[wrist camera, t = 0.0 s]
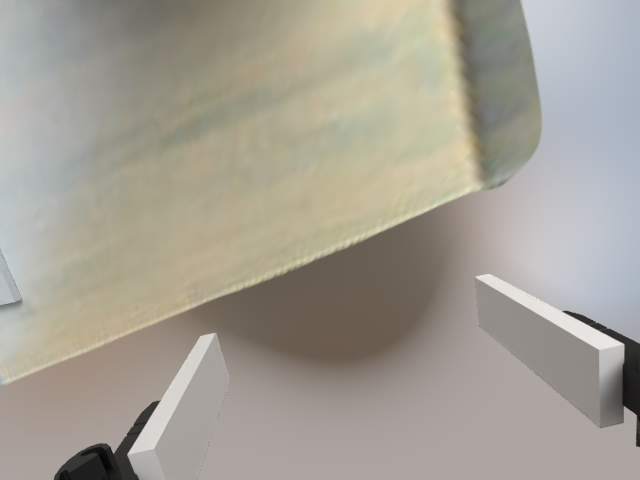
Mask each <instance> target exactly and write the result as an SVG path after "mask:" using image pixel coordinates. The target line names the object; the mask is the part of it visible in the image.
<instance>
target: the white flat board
mask: <svg viewBox="0 0 640 480" xmlns="http://www.w3.org/2000/svg"><path fill="white" fill-rule="evenodd" d="M21 299H22V298H21V296H20V294H19V292H18V289H17V287H16V285H15V283H14V280H13V278H12V276H11V273H10V271H9V269H8V267H7V264H6V262H5V260H4V258H3V255H2V253H1V251H0V305H3V304H8V303H13V302H16V301H19V300H21Z"/></svg>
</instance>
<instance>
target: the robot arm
mask: <svg viewBox="0 0 640 480" xmlns="http://www.w3.org/2000/svg"><path fill="white" fill-rule="evenodd" d="M475 286H476V296H477V306H478V317H479V326H480V327H481V328H482V329H483V330H484V331H485V332H487V333H488V334H489V335H490V336H491V337H493V338H494V339H495V340H496V341H497V342H498V343H500V344H501V345H502V346H503V347H504V348H506V349H507V350H508V351H509V352H510V353H511V354H513V355H514V356H515V357H516V358H517V359H519V360H520V361H521V362H522V363H523V364H524V365H526V366H527V367H528V368H529V369H530V370H532V371H533V372H534V373H535V374H536V375H537V376H539V377H540V378H541V379H542V380H543V381H545V382H546V383H547V384H548V385H549V386H550V387H552V388H553V389H554V390H555V391H556V392H558V393H559V394H560V395H561V396H562V397H564V398H565V399H566V400H567V401H568V402H569V403H571V404H572V405H573V406H574V407H575V408H577V409H578V410H579V411H580V412H581V413H582V414H584V415H585V416H586V417H587V418H588V419H590V420H591V421H592V422H593V423H594V424H595V425H597V426H598V427H599V428H603V427H608V426H612V425H616V424H621V423H624V422H623V421H624V406H625V407H626V408H628V409H629V410H631V411H632V412H634V413H635V414H636V415H637V434H636V435H637V436H636V446H637V447H640V344H639V343H637V342H635V341H633V340H631V339H629V338H627V337H625V336H623V335H621V334H619V333H617V332H615V331H613V330H611V329H607V327H605V326H603V325H601V324H599V323H596V322H595V321H593V320H591V319H589V318H587V317H585V316H583V315H580V314H576V313H572V312H569V311H560V310H558V309H556V308H554V307H552V306H550V305H548V304H546V303H544V302H543V301H541V300H539V299H537V298H535V297H533V296H531V295H529V294H527V293H525V292H523V291H521V290H520V289H518V288H516V287H513V286H512V285H510V284H508V283H506V282H504V281H502V280H500V279H499V278H497V277H495V276H493V275H491V274H486V275H482V276H477V277H475ZM229 384H230V377H229V374H228V371H227V368H226V364H225V361H224V358H223V354H222V351H221V348H220V344H219V341H218V338H217V334H216V333H212V334H208V335H203V336H200V338H199V340H198V341H197V343H196V344H195V346H194V348H193V349H192V351H191V353H190V354H189V356H188V357H187V359H186V361H185V362H184V364H183V365H182V367H181V369H180V371H179V372H178V374H177V375H176V377H175V378H174V380H173V382H172V383H171V385H170V387H169V388H168V390H167V391H166V393H165V395H164V396H163V398H162V400H160V401H156V402H153V403H151V404H150V406H148V407H147V408H146V409H145V410H144V411H143V412H142V413H141V414H140V416H139V417H138V419H137V420H136V422H135V423H134V426H133V427H132V428H131V429H130V431H129V432H128V434H127V436H126V437H125V438H124V440H123V441H122V443H121V444H120V445H119V447H118V448H117V450H116V452H115V453H114V454H113V452H112V450H111V447H110V446H109V445H108V444H101V443H100V444H96V445H93V446H90V447H88V448H86V449H84V450H82V451H81V452H79V453H78V454H76V455H75V456H73V457H72V458H70V459H69V460H68V461H67V462H66V463H65V464H64V465H63V466H62V467H61V468H60V469H59V471H58V472H57V474H56V475H55V477H54V480H197V479H198V475H199V472H200V470H201V467H202V464H203V461H204V458H205V455H206V452H207V449H208V446H209V443H210V440H211V437H212V434H213V431H214V428H215V425H216V422H217V419H218V416H219V414H220V411H221V407H222V405H223V402H224V399H225V396H226V393H227V390H228V387H229Z"/></svg>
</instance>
